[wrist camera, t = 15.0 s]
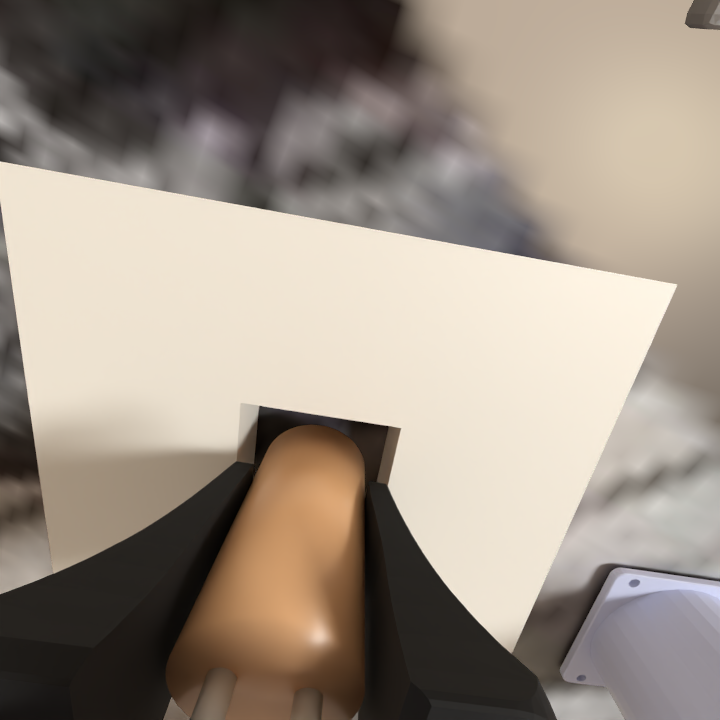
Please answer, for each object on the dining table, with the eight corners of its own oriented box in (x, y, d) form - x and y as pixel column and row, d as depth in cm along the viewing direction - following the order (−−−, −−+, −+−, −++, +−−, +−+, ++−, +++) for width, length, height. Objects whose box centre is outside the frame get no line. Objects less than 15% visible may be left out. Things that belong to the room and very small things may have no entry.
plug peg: (379, 442, 13) (400, 734, 5) (346, 520, 14) (325, 849, 6) (277, 411, 13) (140, 676, 5) (254, 494, 14) (113, 810, 6)
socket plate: (618, 278, 13) (677, 284, 10) (483, 619, 18) (501, 675, 16) (68, 178, 12) (-6, 160, 9) (101, 568, 17) (59, 619, 15)
